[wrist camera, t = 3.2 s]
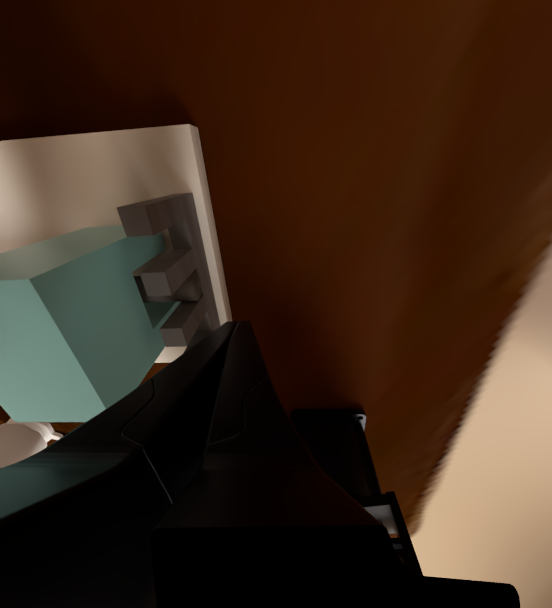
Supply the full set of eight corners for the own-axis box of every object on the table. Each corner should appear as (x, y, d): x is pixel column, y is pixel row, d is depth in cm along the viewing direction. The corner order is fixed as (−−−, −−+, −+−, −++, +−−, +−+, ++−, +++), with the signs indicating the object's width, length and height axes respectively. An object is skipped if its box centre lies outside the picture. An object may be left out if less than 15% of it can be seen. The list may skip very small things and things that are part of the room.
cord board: (197, 127, 12) (129, 98, 7) (237, 350, 19) (218, 420, 14) (-126, 156, 13) (-390, 149, 8) (20, 355, 20) (-74, 421, 15)
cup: (-8, 394, 23) (-141, 496, 16) (103, 428, 25) (29, 533, 18) (-4, 434, 26) (-112, 534, 19) (94, 462, 28) (29, 563, 21)
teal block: (158, 222, 13) (29, 279, 6) (185, 316, 16) (113, 421, 9) (86, 227, 13) (-107, 285, 7) (125, 319, 16) (15, 422, 10)
